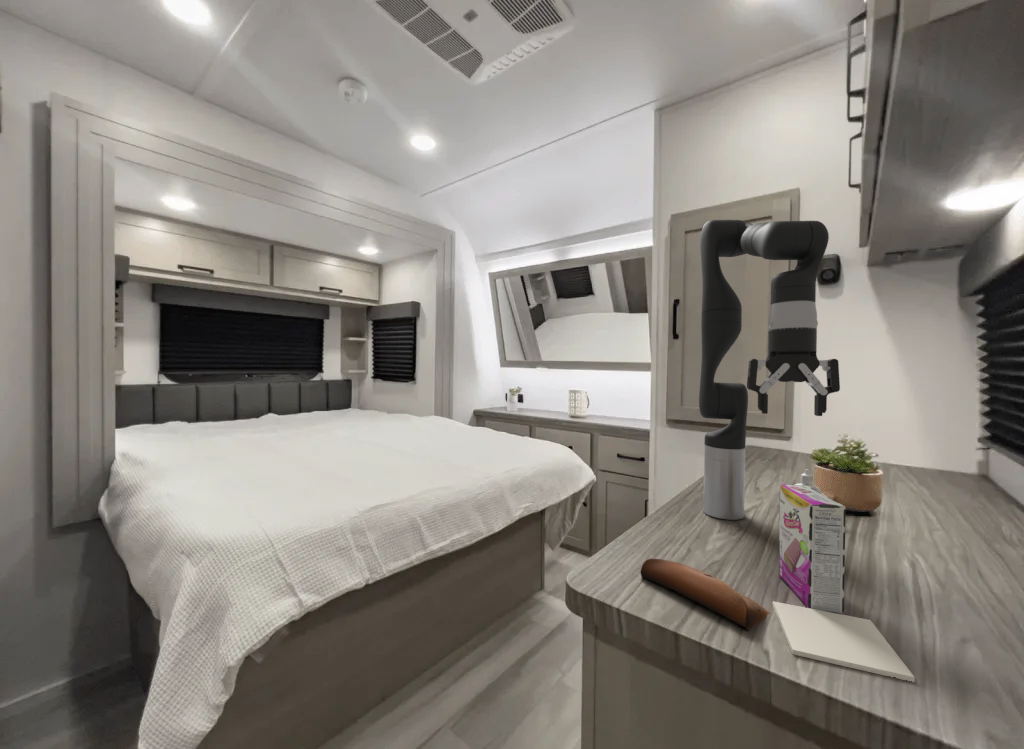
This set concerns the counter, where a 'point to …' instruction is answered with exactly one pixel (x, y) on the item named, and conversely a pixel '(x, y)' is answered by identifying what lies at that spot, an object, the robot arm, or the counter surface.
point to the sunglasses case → (705, 591)
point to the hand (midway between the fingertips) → (790, 414)
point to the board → (839, 640)
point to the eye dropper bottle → (807, 480)
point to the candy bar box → (812, 547)
